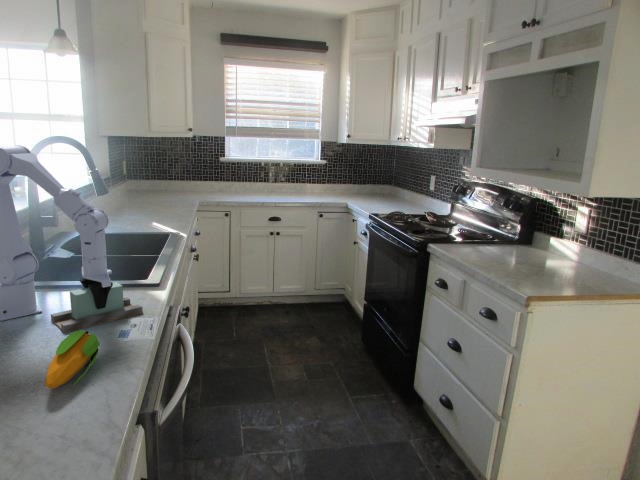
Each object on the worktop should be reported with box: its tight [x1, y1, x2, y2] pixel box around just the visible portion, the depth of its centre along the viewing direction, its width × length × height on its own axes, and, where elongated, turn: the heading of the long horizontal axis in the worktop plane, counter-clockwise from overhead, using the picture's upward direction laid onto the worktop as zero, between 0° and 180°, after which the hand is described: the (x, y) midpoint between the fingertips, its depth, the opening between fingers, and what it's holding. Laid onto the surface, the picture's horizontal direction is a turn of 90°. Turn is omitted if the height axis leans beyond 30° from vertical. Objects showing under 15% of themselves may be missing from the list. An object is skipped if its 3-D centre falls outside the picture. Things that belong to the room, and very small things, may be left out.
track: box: [50, 297, 144, 334], centre depth 124 cm, size 20×10×2 cm, turn 136°
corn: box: [44, 329, 100, 390], centre depth 95 cm, size 7×8×20 cm
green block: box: [69, 281, 124, 320], centre depth 124 cm, size 12×4×7 cm, turn 136°
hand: (97, 305), depth 124 cm, fingers closed on green block, 4 cm apart
